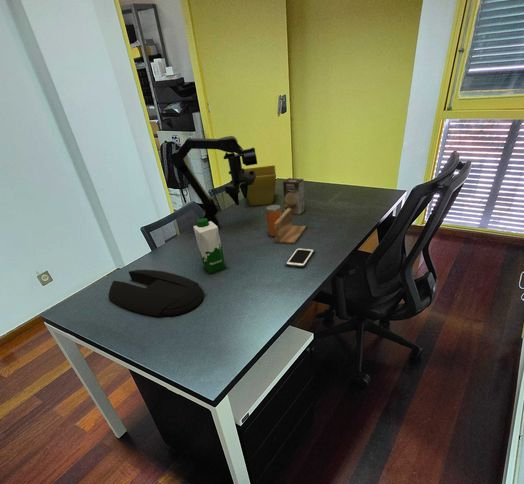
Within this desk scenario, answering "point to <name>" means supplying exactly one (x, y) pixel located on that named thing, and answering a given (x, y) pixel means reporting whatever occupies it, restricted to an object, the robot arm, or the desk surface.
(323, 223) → the desk surface
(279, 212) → the tin can
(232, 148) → the robot arm
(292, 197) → the coffee box
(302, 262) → the cell phone
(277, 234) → the wooden bookend
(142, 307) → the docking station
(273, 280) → the desk surface
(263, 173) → the cardboard box
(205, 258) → the milk carton
